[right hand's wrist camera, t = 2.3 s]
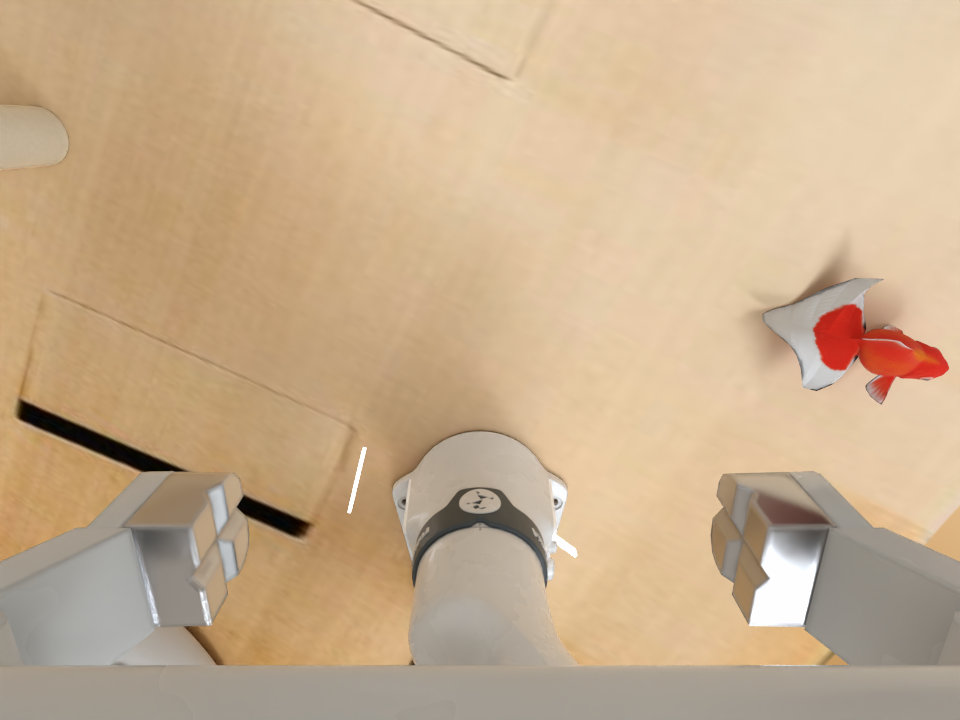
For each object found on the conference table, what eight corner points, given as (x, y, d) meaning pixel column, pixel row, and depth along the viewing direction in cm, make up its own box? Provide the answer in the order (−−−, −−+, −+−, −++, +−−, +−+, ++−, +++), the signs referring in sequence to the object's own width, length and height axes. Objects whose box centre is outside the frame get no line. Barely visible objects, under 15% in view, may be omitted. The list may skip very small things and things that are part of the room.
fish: (872, 446, 59) (927, 442, 49) (728, 355, 63) (752, 336, 53) (934, 355, 59) (1001, 334, 50) (787, 271, 63) (822, 236, 53)
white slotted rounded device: (64, 707, 78) (-24, 831, 64) (38, 561, 69) (-71, 667, 56) (240, 720, 78) (190, 846, 65) (234, 578, 70) (175, 687, 57)
